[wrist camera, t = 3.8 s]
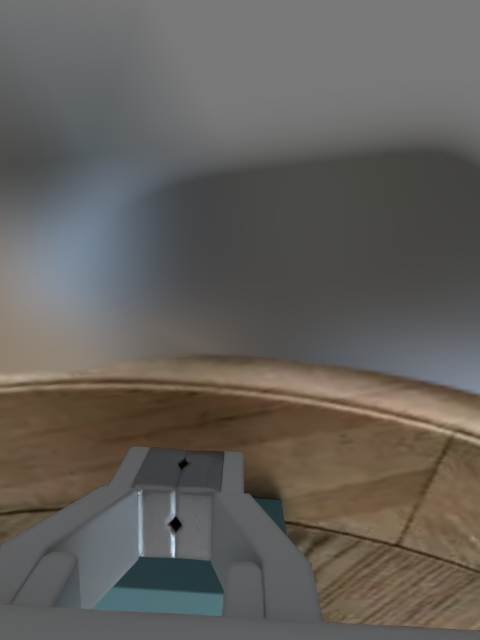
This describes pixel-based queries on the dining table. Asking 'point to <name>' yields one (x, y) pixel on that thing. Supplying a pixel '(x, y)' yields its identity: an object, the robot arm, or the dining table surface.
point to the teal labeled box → (175, 582)
